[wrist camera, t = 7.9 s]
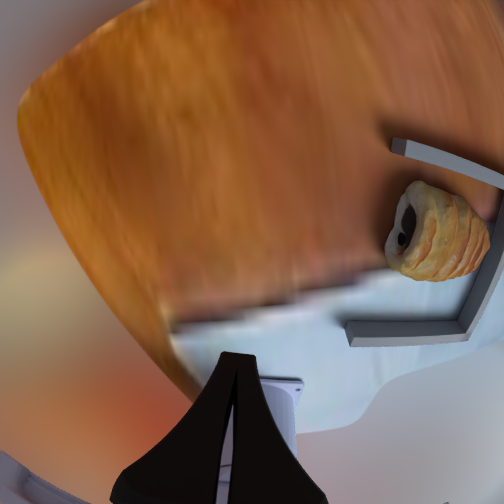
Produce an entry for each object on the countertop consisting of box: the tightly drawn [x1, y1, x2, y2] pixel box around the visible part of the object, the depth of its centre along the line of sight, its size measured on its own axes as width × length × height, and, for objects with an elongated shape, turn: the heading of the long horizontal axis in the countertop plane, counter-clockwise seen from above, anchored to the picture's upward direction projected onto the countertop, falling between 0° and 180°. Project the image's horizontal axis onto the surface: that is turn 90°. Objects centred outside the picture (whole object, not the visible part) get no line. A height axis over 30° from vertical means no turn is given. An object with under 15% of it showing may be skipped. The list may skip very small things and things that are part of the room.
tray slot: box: [345, 137, 504, 347], centre depth 17 cm, size 15×13×2 cm
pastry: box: [385, 181, 490, 282], centre depth 16 cm, size 9×7×4 cm
